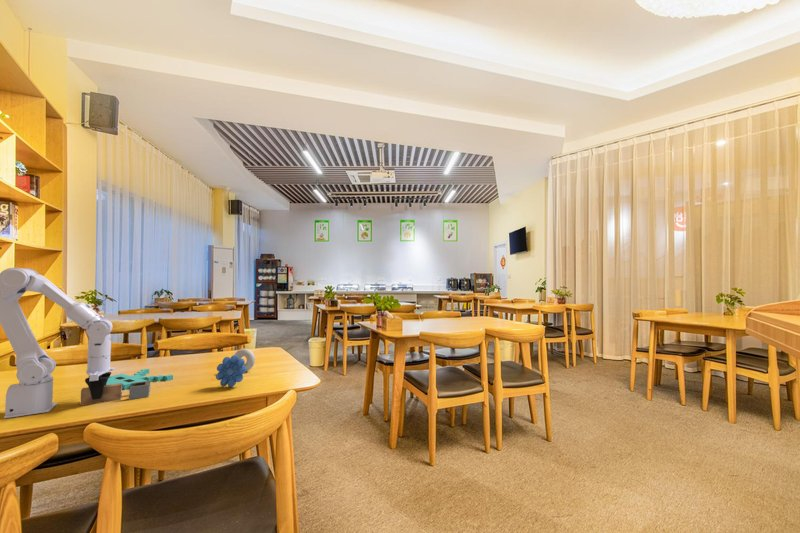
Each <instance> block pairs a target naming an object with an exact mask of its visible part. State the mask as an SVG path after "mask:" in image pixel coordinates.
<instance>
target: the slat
mask: <svg viewBox="0 0 800 533" xmlns="http://www.w3.org/2000/svg"><path fill="white" fill-rule="evenodd" d="M122 394H123V389H122V383H119V384H111V385H104V389H103V394H102V397H101V399H94V400H93V399H92V396H91V392H90V389H89V387H82V388H81V390H80V406H85V405H86V406H87V405H93V404H100V403H107V402H115V401H121V399H122V397H123V395H122Z"/></svg>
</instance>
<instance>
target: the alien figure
mask: <svg viewBox="0 0 800 533" xmlns="http://www.w3.org/2000/svg"><path fill="white" fill-rule="evenodd" d="M147 374H148V376H147ZM149 374H150V369H149V368H143V369H140V371H137V372H136V373H135V372H134V374H133V375H127V374H124V373H120V374H119V373H118V374H114V375H110V376H109V378H108V381H107V383H106V385H111V384H119V383H122V391H124V390H125V391H127V390H130V387H131V386H132V383H135V382H143V381H150V383H151V382H163V381H166V382H169V381H172V380H174V374H166V375H163V374H159V375H149Z"/></svg>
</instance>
